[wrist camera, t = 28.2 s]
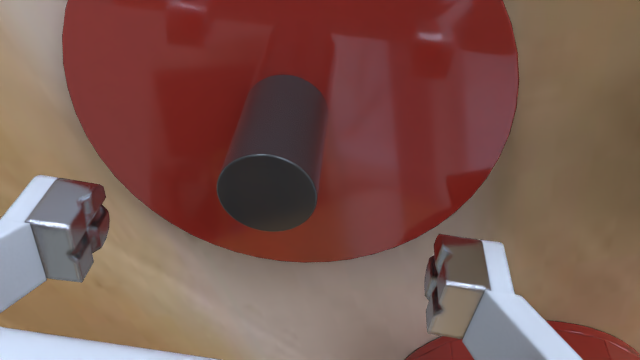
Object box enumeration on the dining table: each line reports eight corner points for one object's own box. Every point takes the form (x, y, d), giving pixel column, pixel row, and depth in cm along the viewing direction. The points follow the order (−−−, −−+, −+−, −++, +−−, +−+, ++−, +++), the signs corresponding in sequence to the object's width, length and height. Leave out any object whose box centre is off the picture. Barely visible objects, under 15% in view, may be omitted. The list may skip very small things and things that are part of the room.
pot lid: (198, 264, 24) (161, 373, 20) (-17, -53, 16) (-149, 22, 12) (533, 204, 20) (570, 323, 16) (472, -245, 12) (516, -228, 8)
